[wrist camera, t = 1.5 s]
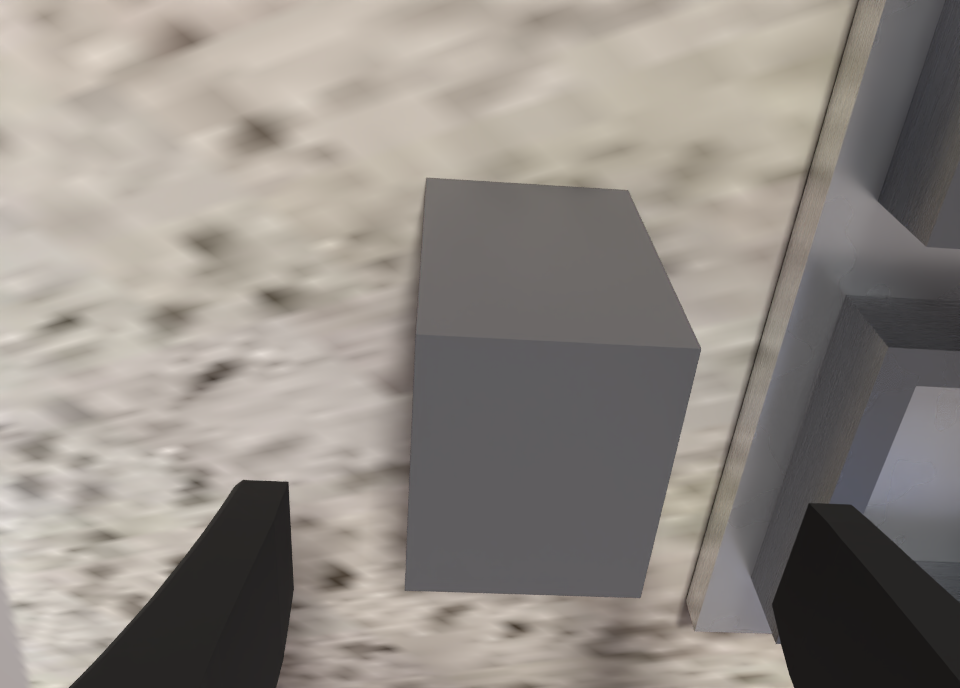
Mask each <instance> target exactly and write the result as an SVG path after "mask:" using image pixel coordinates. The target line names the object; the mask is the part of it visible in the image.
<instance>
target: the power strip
mask: <svg viewBox="0 0 960 688" xmlns="http://www.w3.org/2000/svg"><path fill="white" fill-rule="evenodd" d="M809 503H825V504H850V505H852V506H854V507H855V508H856V509H857V510H858V511H860V512H861V513H862V514H863V515H864V516H865V517H867V518H868V519H869V520H870V521H871V522H872V523H873V524H874V525H875V526H877V527H878V528H879V529H880V530H881V531H882V532H883V533H884V534H885V535H886V536H888V537H889V538H890V539H891V540H892V541H893V542H894V543H895V544H896V545H897V546H898V547H900V548H901V549H902V550H903V551H904V552H905V553H906V554H907V555H908V556H909V557H910V558H911V559H912V560H914V561H915V562H916V563H917V564H918V565H919V566H920V567H921V568H922V569H923V570H924V571H925V572H927V573H928V574H929V575H930V576H931V577H932V578H933V579H934V580H935V581H936V582H937V583H939V584H940V585H941V586H942V587H943V588H944V589H945V590H946V591H947V592H948V593H950V594H951V595H952V596H953V597H954V598H955V599H956V600H957V601H958V602H960V0H859V2H858V6H857V9H856V12H855V16H854V19H853V23H852V26H851V30H850V33H849V37H848V40H847V44H846V47H845V51H844V54H843V58H842V61H841V65H840V68H839V71H838V75H837V78H836V82H835V85H834V89H833V92H832V96H831V99H830V103H829V106H828V110H827V113H826V117H825V120H824V124H823V127H822V131H821V134H820V137H819V141H818V144H817V148H816V151H815V155H814V158H813V162H812V165H811V169H810V172H809V176H808V179H807V183H806V186H805V190H804V193H803V197H802V200H801V203H800V207H799V210H798V214H797V217H796V221H795V224H794V228H793V231H792V235H791V238H790V242H789V245H788V249H787V252H786V256H785V259H784V262H783V266H782V269H781V273H780V276H779V280H778V283H777V287H776V290H775V294H774V297H773V301H772V304H771V308H770V311H769V315H768V318H767V322H766V325H765V328H764V332H763V335H762V339H761V342H760V346H759V349H758V353H757V356H756V360H755V363H754V367H753V370H752V374H751V377H750V381H749V384H748V388H747V391H746V394H745V398H744V401H743V405H742V408H741V412H740V415H739V419H738V422H737V426H736V429H735V433H734V436H733V440H732V443H731V447H730V450H729V453H728V457H727V460H726V464H725V467H724V471H723V474H722V478H721V481H720V485H719V488H718V492H717V495H716V499H715V502H714V506H713V509H712V513H711V516H710V519H709V523H708V526H707V530H706V533H705V537H704V540H703V544H702V547H701V551H700V554H699V558H698V561H697V565H696V568H695V572H694V575H693V579H692V582H691V585H690V589H689V592H688V596H687V599H686V603H687V607H688V610H689V614H690V617H691V620H692V624H693V627H694V631H704V632H734V633H765V634H772V635H773V637H774V640H775V642H776V644H781V641H780V637H779V633H778V629H777V625H776V620H775V616H774V612H773V608H772V603H773V600H774V597H775V594H776V592H777V589H778V586H779V583H780V581H781V578H782V575H783V572H784V570H785V567H786V564H787V562H788V559H789V556H790V553H791V551H792V548H793V545H794V542H795V540H796V537H797V534H798V531H799V529H800V526H801V523H802V520H803V518H804V515H805V512H806V510H807V507H808V504H809Z"/></svg>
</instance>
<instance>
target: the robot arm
mask: <svg viewBox="0 0 960 688" xmlns="http://www.w3.org/2000/svg"><path fill="white" fill-rule="evenodd" d="M293 590H294V585H293V565H292V545H291V525H290V505H289V485H288V482H278V481H253V480H242V481H241V482H240V483H238V484H237V485H236V486H235V487H234V488H233V490H232V491H231V493H230V494H229V496H228V497H227V499H226V500H225V502H224V503H223V505H222V506H221V508H220V509H219V511H218V512H217V514H216V515H215V516H214V518H213V519H212V521H211V522H210V523H209V525H208V526H207V528H206V529H205V530H204V532H203V533H202V534H201V536H200V537H199V539H198V540H197V541H196V543H195V544H194V545H193V547H192V548H191V549H190V551H189V552H188V553H187V555H186V556H185V557H184V558H183V560H182V561H181V562H180V563H179V565H178V566H177V567H176V568H175V570H174V571H173V572H172V573H171V575H170V576H169V577H168V578H167V579H166V581H165V582H164V583H163V584H162V586H161V587H160V588H159V589H158V591H157V592H156V593H155V594H154V596H153V597H152V598H151V599H150V600H149V602H148V603H147V604H146V605H145V606H144V607H143V609H142V610H141V611H140V612H139V613H138V614H137V615H136V616H135V618H134V619H133V620H132V621H131V622H130V623H129V624H128V625H127V626H126V628H125V629H124V630H123V631H122V632H121V633H120V634H119V635H118V636H117V638H116V639H115V640H114V641H113V642H112V643H111V644H110V645H109V647H108V648H107V649H106V650H105V651H104V652H103V653H102V654H101V655H100V656H99V657H98V658H97V659H96V661H95V662H94V663H93V664H92V665H91V666H90V667H89V668H88V669H87V670H86V671H85V672H84V673H83V674H82V675H81V676H80V677H79V678H78V679H77V680H76V681H75V682H74V683H73V684H72V685H71V686H70V687H69V688H276V685H277V682H278V678H279V674H280V670H281V666H282V662H283V657H284V651H285V644H286V638H287V631H288V625H289V618H290V611H291V604H292V597H293ZM772 608H773V612H774V616H775V620H776V625H777V629H778V633H779V637H780V641H781V645H782V649H783V653H784V656H785V660H786V664H787V668H788V671H789V675H790V677H791V680H792V683H793V685H794V688H960V602H958V601H957V600H956V599H955V598H954V597H953V596H952V595H951V594H950V593H948V592H947V591H946V590H945V589H944V588H943V587H942V586H941V585H940V584H939V583H937V582H936V581H935V580H934V579H933V578H932V577H931V576H930V575H929V574H928V573H927V572H925V571H924V570H923V569H922V568H921V567H920V566H919V565H918V564H917V563H916V562H915V561H914V560H912V559H911V558H910V557H909V556H908V555H907V554H906V553H905V552H904V551H903V550H902V549H901V548H900V547H898V546H897V545H896V544H895V543H894V542H893V541H892V540H891V539H890V538H889V537H888V536H886V535H885V534H884V533H883V532H882V531H881V530H880V529H879V528H878V527H877V526H875V525H874V524H873V523H872V522H871V521H870V520H869V519H868V518H867V517H865V516H864V515H863V514H862V513H861V512H860V511H858V510H857V509H856V508H855V507H854V506H852V505H850V504H825V503H809V504H808V507H807V510H806V512H805V515H804V518H803V520H802V523H801V526H800V529H799V531H798V534H797V537H796V540H795V542H794V545H793V548H792V551H791V553H790V556H789V559H788V562H787V564H786V567H785V570H784V572H783V575H782V578H781V581H780V583H779V586H778V589H777V592H776V594H775V597H774V600H773V603H772Z"/></svg>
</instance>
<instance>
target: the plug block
mask: <svg viewBox="0 0 960 688" xmlns="http://www.w3.org/2000/svg"><path fill="white" fill-rule="evenodd" d="M700 352H701V347H700V345H699V343H698V341H697V338H696V336H695V334H694V332H693V330H692V328H691V325H690V323H689V321H688V319H687V317H686V315H685V313H684V310H683V308H682V306H681V304H680V302H679V300H678V297H677V295H676V293H675V291H674V289H673V287H672V284H671V282H670V280H669V278H668V276H667V274H666V271H665V269H664V267H663V265H662V263H661V261H660V258H659V256H658V254H657V252H656V250H655V248H654V245H653V243H652V241H651V239H650V237H649V235H648V232H647V230H646V228H645V226H644V224H643V222H642V219H641V217H640V215H639V213H638V211H637V209H636V206H635V204H634V202H633V200H632V198H631V196H630V193H629V191H628V190H616V189H600V188H584V187H568V186H552V185H536V184H519V183H503V182H487V181H471V180H455V179H439V178H426V192H425V206H424V221H423V235H422V250H421V265H420V279H419V294H418V308H417V323H416V339H415V363H414V386H413V409H412V433H411V456H410V479H409V503H408V526H407V550H406V573H405V591H436V592H467V593H498V594H530V595H561V596H593V597H624V598H641V594H642V589H643V585H644V581H645V577H646V573H647V569H648V565H649V561H650V557H651V553H652V548H653V544H654V540H655V536H656V532H657V528H658V524H659V520H660V516H661V512H662V507H663V503H664V499H665V495H666V491H667V487H668V483H669V479H670V475H671V471H672V467H673V462H674V458H675V454H676V450H677V446H678V442H679V438H680V434H681V430H682V426H683V421H684V417H685V413H686V409H687V405H688V401H689V397H690V393H691V389H692V385H693V380H694V376H695V372H696V368H697V364H698V360H699V356H700Z"/></svg>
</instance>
